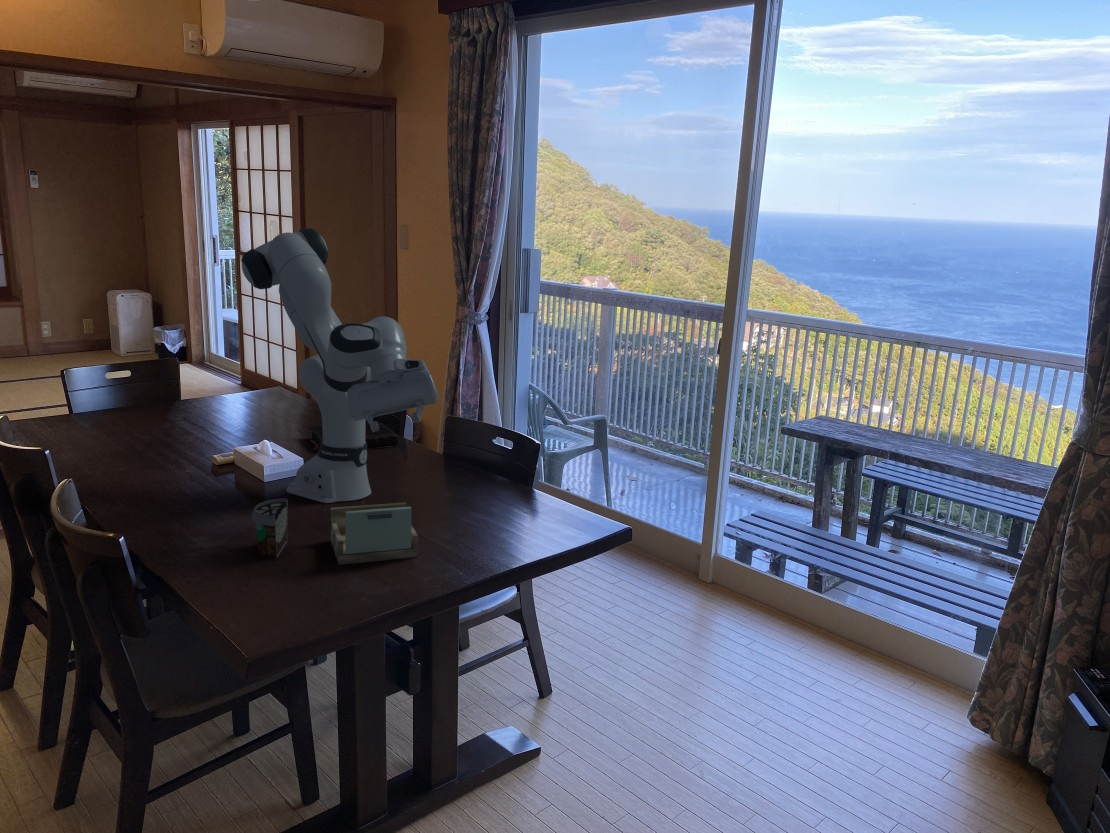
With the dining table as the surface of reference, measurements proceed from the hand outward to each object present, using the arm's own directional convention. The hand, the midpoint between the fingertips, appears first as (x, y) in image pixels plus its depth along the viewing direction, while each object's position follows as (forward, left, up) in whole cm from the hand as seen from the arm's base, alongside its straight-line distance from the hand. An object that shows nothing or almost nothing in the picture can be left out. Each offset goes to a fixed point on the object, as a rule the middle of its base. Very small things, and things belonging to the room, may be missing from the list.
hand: (395, 425), depth 176 cm
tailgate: (+1, -9, -27) cm, 28 cm away
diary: (-55, +71, -29) cm, 94 cm away
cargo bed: (-3, -3, -29) cm, 29 cm away
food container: (-24, -14, -29) cm, 40 cm away
